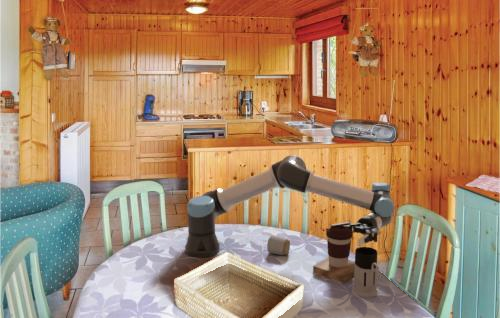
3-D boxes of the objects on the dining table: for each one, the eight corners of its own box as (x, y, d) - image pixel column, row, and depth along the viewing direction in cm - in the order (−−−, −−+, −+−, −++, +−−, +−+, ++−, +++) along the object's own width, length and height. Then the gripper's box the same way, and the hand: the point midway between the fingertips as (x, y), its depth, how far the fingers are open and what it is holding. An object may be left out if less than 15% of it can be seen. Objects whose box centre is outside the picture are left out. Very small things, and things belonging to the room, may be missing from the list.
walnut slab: (313, 273, 170) (313, 266, 170) (331, 261, 180) (332, 254, 180) (345, 283, 161) (345, 276, 160) (363, 271, 171) (363, 263, 171)
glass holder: (371, 284, 161) (373, 245, 158) (389, 303, 147) (391, 261, 144) (348, 286, 159) (349, 247, 157) (364, 305, 145) (365, 263, 143)
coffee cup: (334, 271, 164) (335, 234, 161) (320, 261, 173) (321, 225, 170) (356, 267, 168) (358, 230, 165) (341, 257, 177) (342, 221, 174)
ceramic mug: (284, 258, 184) (284, 240, 183) (266, 255, 188) (266, 238, 187) (293, 249, 194) (293, 233, 193) (276, 247, 197) (276, 230, 196)
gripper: (397, 239, 176) (373, 256, 160) (342, 226, 192) (315, 240, 176) (398, 221, 174) (373, 236, 159) (342, 210, 191) (315, 222, 175)
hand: (342, 238), depth 168 cm, fingers open, 13 cm apart
